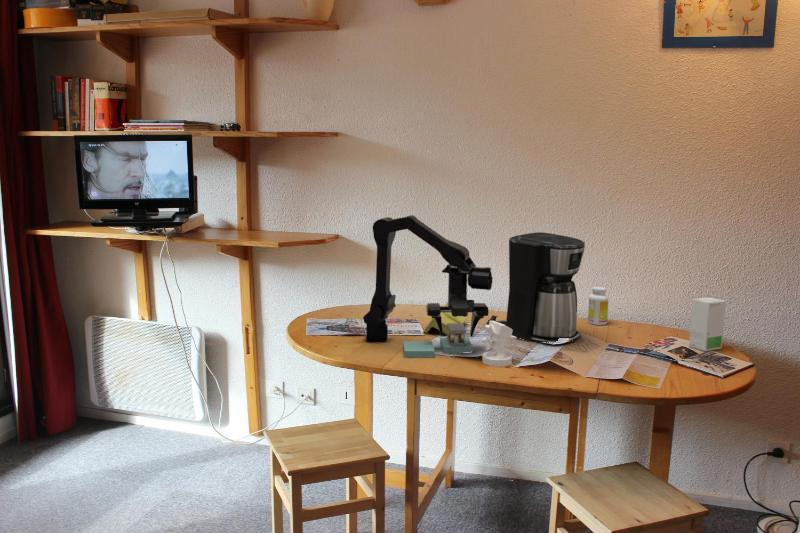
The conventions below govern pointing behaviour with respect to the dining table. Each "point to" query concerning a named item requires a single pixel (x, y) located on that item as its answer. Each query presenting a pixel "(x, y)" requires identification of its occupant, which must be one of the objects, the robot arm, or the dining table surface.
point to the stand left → (418, 349)
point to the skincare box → (707, 323)
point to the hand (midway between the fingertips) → (456, 336)
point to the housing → (456, 339)
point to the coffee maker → (543, 287)
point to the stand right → (454, 349)
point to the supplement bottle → (598, 306)
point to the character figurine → (497, 345)
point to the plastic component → (445, 321)
